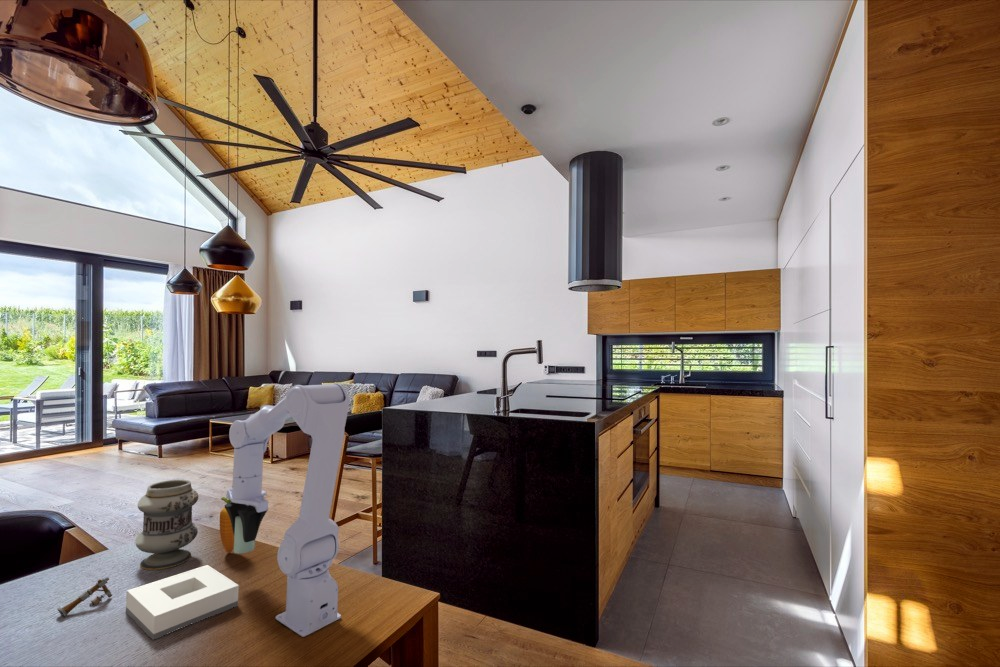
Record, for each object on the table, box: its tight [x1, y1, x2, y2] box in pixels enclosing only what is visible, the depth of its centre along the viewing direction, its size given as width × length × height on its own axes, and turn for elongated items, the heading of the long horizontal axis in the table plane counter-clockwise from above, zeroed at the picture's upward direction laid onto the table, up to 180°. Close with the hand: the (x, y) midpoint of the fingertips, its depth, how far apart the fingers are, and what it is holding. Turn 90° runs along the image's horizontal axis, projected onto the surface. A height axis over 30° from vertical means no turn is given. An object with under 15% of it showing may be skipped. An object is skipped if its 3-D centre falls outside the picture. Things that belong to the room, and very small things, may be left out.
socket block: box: [125, 564, 240, 641], centre depth 90 cm, size 14×14×4 cm
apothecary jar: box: [135, 479, 199, 571], centre depth 111 cm, size 12×12×18 cm
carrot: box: [219, 496, 234, 554], centre depth 115 cm, size 5×5×15 cm
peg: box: [233, 516, 256, 554], centre depth 102 cm, size 4×4×7 cm
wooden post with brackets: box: [56, 576, 113, 618], centre depth 90 cm, size 2×8×4 cm, turn 154°
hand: (244, 538), depth 102 cm, fingers closed on peg, 4 cm apart
